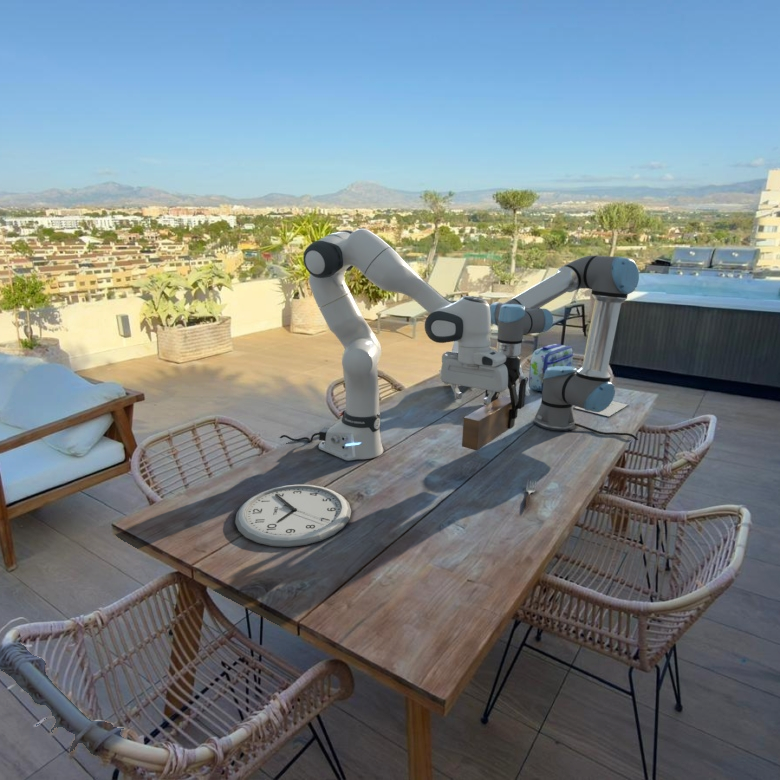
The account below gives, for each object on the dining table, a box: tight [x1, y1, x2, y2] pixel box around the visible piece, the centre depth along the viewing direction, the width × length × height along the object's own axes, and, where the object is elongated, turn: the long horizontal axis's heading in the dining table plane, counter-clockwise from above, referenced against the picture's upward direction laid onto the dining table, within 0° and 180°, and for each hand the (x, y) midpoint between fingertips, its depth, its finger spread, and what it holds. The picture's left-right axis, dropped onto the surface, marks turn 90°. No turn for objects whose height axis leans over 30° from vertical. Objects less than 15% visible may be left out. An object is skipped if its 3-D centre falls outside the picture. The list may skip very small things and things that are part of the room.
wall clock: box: [234, 484, 352, 548], centre depth 138 cm, size 30×2×30 cm
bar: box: [461, 395, 516, 452], centre depth 160 cm, size 26×5×9 cm, turn 143°
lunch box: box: [528, 343, 574, 392], centre depth 248 cm, size 26×11×21 cm, turn 134°
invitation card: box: [573, 400, 629, 418], centre depth 226 cm, size 21×1×15 cm
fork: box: [525, 478, 537, 511], centre depth 148 cm, size 3×16×2 cm, turn 160°
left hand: (472, 401), depth 151 cm, fingers open, 8 cm apart
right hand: (502, 425), depth 168 cm, fingers closed on bar, 5 cm apart
